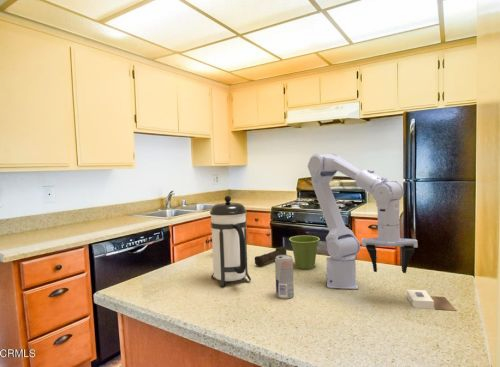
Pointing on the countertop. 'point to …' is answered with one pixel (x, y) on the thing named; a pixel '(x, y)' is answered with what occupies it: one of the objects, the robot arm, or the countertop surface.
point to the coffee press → (229, 242)
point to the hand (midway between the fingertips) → (389, 271)
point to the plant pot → (304, 250)
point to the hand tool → (270, 256)
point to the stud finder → (420, 299)
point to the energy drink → (284, 276)
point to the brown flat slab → (442, 303)
